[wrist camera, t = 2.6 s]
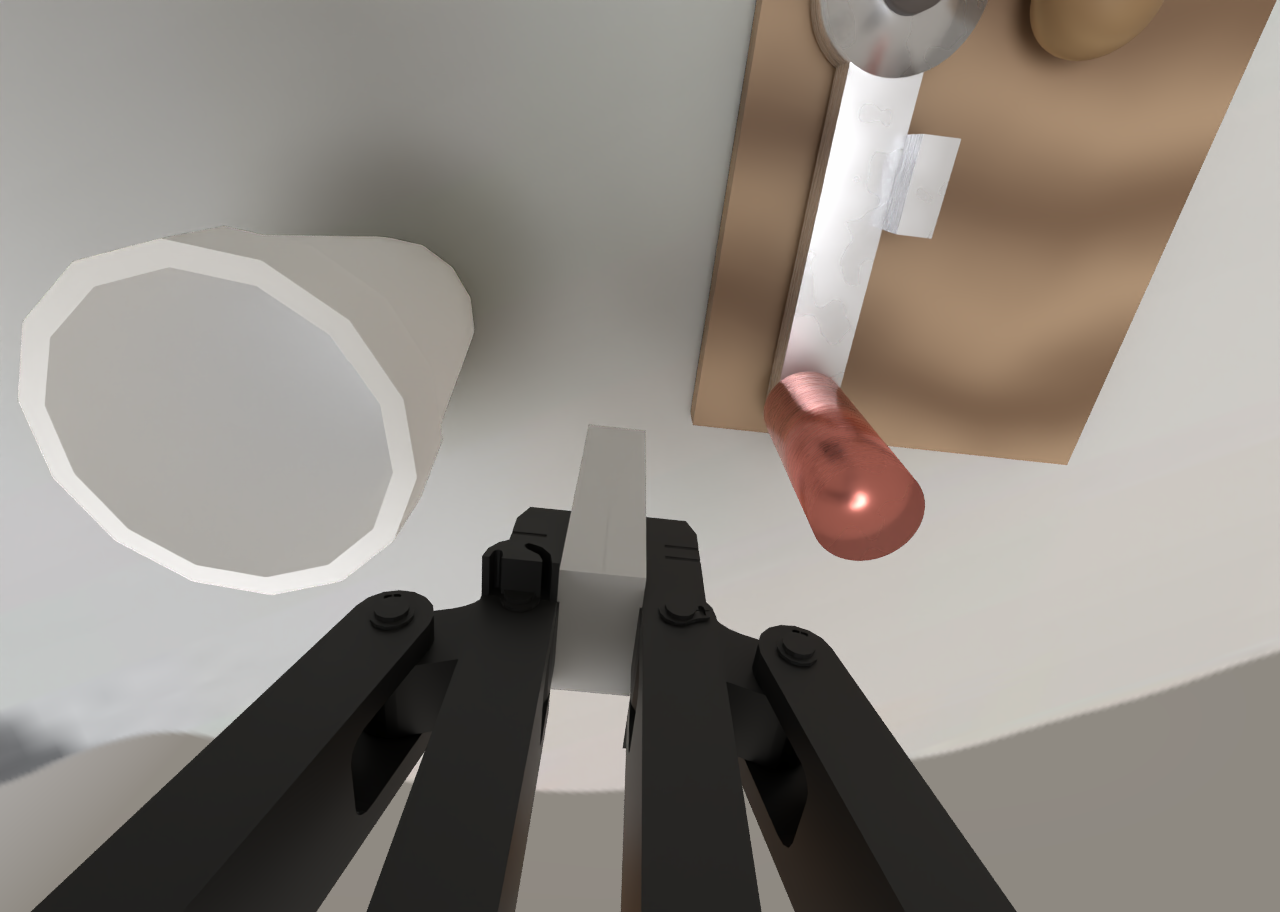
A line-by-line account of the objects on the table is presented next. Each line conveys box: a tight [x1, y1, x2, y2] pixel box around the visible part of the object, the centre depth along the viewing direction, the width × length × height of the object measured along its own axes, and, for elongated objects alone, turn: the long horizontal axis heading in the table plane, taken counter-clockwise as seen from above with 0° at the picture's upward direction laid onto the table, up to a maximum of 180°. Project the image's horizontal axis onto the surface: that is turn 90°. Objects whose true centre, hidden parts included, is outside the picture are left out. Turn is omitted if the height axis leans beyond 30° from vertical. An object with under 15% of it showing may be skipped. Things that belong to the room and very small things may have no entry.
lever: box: [763, 0, 988, 561], centre depth 20 cm, size 18×5×10 cm, turn 173°
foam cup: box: [18, 226, 475, 595], centre depth 22 cm, size 10×9×13 cm
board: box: [691, 0, 1276, 465], centre depth 23 cm, size 22×17×5 cm
